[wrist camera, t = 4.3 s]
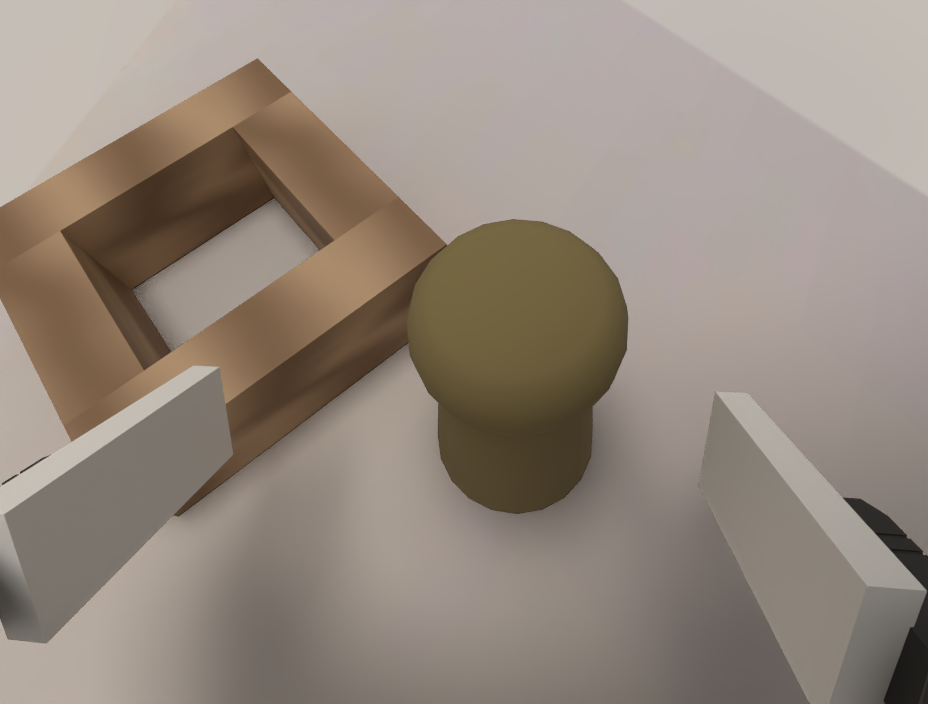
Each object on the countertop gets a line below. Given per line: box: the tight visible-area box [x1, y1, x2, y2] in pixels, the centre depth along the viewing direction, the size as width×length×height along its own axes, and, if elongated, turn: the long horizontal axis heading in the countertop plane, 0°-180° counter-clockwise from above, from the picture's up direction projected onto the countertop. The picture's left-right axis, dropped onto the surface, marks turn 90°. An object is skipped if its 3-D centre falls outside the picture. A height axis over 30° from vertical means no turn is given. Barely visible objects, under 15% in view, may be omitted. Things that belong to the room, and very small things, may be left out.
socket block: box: [0, 58, 447, 516], centre depth 23 cm, size 14×14×4 cm
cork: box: [407, 219, 628, 514], centre depth 17 cm, size 6×6×11 cm
